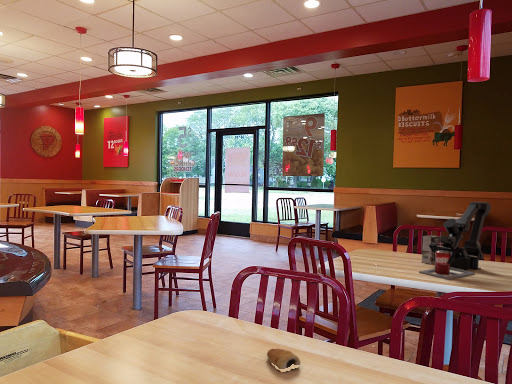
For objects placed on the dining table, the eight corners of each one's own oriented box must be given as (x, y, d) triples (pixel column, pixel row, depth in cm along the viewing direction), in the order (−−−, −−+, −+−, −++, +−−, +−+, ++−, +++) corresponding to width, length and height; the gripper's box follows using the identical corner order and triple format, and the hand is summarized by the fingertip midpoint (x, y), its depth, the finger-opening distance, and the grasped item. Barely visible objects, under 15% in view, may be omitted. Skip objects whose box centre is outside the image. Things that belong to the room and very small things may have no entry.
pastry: (260, 359, 99) (260, 344, 99) (281, 353, 103) (282, 339, 103) (281, 375, 91) (282, 359, 91) (303, 369, 95) (304, 354, 95)
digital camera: (471, 269, 217) (472, 257, 216) (466, 270, 214) (467, 258, 213) (453, 265, 225) (454, 254, 225) (448, 266, 222) (449, 254, 222)
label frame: (445, 267, 219) (445, 266, 219) (474, 274, 205) (474, 272, 205) (419, 272, 204) (419, 271, 204) (448, 279, 191) (448, 278, 191)
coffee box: (431, 264, 227) (433, 237, 227) (421, 262, 232) (422, 235, 232) (439, 262, 233) (440, 236, 233) (428, 260, 238) (430, 234, 238)
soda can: (451, 276, 198) (452, 253, 197) (436, 275, 199) (437, 252, 199) (447, 273, 205) (448, 250, 204) (432, 272, 206) (433, 249, 206)
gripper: (431, 227, 211) (418, 249, 205) (466, 232, 196) (453, 255, 190) (438, 241, 216) (426, 262, 210) (473, 246, 200) (460, 269, 194)
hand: (441, 262), depth 201 cm, fingers closed on soda can, 7 cm apart
